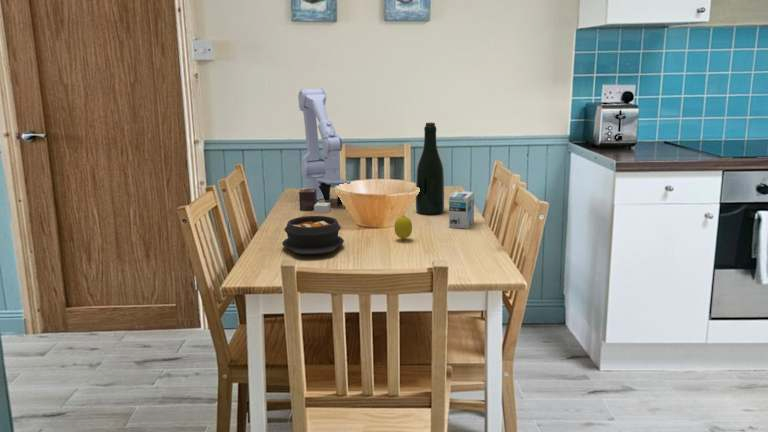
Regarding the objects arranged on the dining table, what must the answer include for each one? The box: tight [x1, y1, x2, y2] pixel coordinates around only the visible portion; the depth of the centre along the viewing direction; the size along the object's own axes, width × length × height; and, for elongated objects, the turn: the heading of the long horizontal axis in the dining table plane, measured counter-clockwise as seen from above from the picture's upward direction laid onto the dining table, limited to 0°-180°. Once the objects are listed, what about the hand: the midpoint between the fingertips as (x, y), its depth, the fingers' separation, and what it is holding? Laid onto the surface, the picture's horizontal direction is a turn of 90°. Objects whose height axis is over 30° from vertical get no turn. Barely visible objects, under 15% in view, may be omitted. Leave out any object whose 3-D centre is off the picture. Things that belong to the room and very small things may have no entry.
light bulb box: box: [448, 190, 475, 230], centre depth 222 cm, size 11×7×11 cm, turn 161°
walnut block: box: [324, 197, 344, 210], centre depth 252 cm, size 5×5×3 cm
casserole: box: [281, 215, 345, 255], centre depth 198 cm, size 25×19×8 cm
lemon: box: [394, 214, 413, 241], centre depth 205 cm, size 6×6×8 cm
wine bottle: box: [415, 122, 445, 216], centre depth 238 cm, size 10×10×33 cm
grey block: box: [313, 202, 332, 214], centre depth 245 cm, size 5×5×3 cm
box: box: [298, 188, 318, 212], centre depth 249 cm, size 6×6×7 cm
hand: (333, 203), depth 252 cm, fingers open, 5 cm apart
